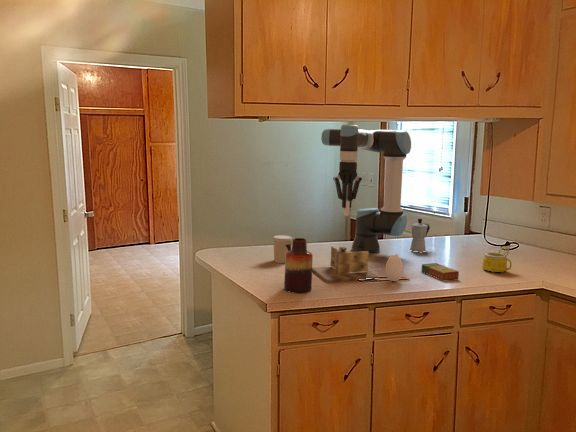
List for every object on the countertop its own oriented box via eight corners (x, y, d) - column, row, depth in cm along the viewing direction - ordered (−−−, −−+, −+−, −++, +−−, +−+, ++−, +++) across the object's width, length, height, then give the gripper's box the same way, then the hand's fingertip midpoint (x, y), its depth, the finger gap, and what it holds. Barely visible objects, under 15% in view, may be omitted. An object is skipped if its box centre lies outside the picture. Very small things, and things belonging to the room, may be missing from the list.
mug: (481, 272, 238) (483, 246, 237) (482, 266, 248) (484, 242, 246) (510, 275, 233) (513, 250, 231) (511, 270, 243) (513, 245, 241)
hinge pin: (343, 270, 226) (344, 246, 224) (346, 272, 223) (347, 248, 221) (337, 270, 225) (338, 247, 223) (339, 272, 222) (341, 248, 220)
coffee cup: (289, 264, 242) (290, 239, 240) (270, 262, 244) (271, 238, 242) (293, 259, 251) (294, 235, 249) (274, 258, 253) (275, 234, 251)
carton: (443, 282, 221) (443, 272, 220) (420, 272, 236) (421, 263, 235) (458, 280, 224) (459, 270, 223) (435, 271, 239) (436, 262, 238)
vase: (279, 287, 205) (280, 238, 201) (300, 283, 211) (302, 235, 208) (294, 294, 196) (296, 243, 193) (316, 290, 202) (318, 240, 199)
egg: (389, 284, 214) (390, 257, 212) (381, 279, 221) (383, 253, 219) (405, 283, 215) (407, 256, 213) (397, 278, 222) (399, 252, 221)
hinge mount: (358, 267, 240) (359, 244, 238) (378, 279, 221) (380, 254, 219) (310, 270, 233) (311, 246, 231) (327, 282, 213) (328, 256, 212)
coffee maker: (417, 254, 272) (419, 220, 269) (404, 250, 278) (406, 218, 275) (433, 250, 281) (436, 218, 278) (420, 247, 288) (422, 216, 285)
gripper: (358, 160, 224) (356, 213, 229) (330, 160, 221) (329, 214, 225) (365, 161, 217) (363, 216, 221) (337, 161, 213) (335, 217, 218)
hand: (346, 215), depth 223 cm, fingers closed
